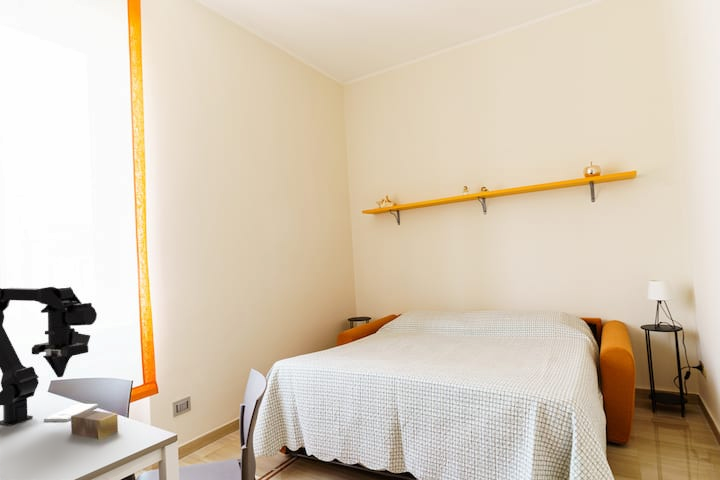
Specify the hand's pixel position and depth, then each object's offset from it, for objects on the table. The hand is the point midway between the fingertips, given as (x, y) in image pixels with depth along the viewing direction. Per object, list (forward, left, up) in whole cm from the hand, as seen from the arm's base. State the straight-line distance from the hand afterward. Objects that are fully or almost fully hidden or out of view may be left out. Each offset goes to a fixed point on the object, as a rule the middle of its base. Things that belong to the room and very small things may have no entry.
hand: (60, 377), depth 129 cm
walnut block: (+15, -4, -11) cm, 19 cm away
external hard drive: (-2, +4, -14) cm, 15 cm away
